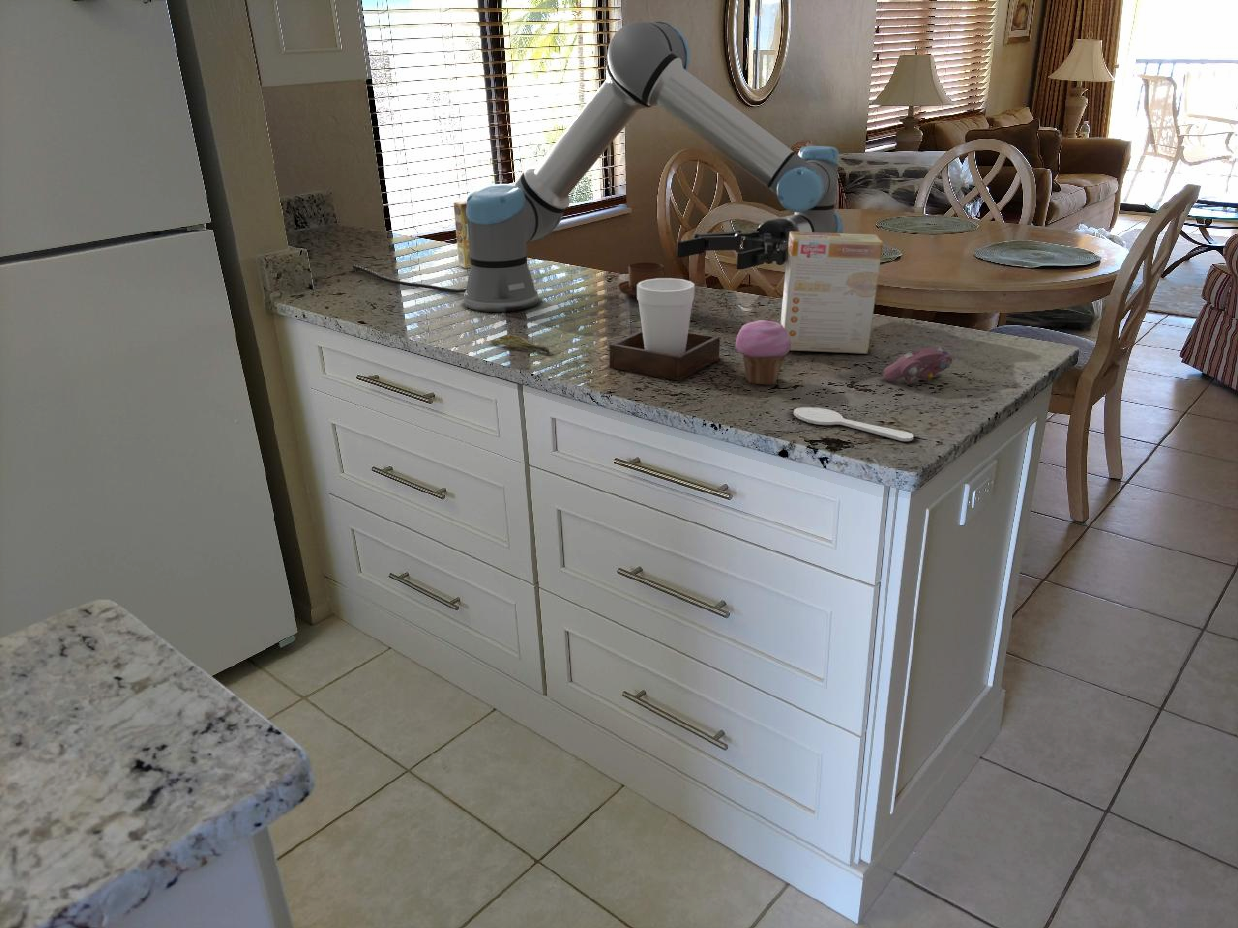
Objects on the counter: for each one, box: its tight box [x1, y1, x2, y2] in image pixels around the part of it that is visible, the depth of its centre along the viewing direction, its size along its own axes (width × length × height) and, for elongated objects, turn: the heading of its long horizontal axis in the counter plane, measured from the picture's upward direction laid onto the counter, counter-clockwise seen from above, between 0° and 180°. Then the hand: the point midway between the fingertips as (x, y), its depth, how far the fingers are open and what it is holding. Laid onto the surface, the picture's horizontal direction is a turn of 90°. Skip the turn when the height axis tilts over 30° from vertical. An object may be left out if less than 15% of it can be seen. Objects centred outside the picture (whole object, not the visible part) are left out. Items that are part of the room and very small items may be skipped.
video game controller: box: [882, 346, 953, 385], centre depth 152 cm, size 10×5×7 cm, turn 114°
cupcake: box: [734, 319, 791, 386], centre depth 152 cm, size 9×9×10 cm
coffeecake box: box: [779, 231, 884, 355], centre depth 165 cm, size 15×7×20 cm, turn 87°
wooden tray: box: [608, 329, 721, 382], centre depth 162 cm, size 14×14×4 cm
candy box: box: [453, 200, 471, 269], centre depth 232 cm, size 9×4×15 cm, turn 125°
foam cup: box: [636, 277, 696, 356], centre depth 160 cm, size 10×9×13 cm
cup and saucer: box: [617, 261, 667, 298], centre depth 205 cm, size 12×12×6 cm
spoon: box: [793, 406, 914, 442], centre depth 136 cm, size 5×18×1 cm, turn 52°
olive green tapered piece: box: [490, 334, 551, 356], centre depth 172 cm, size 4×13×2 cm, turn 56°
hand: (707, 255), depth 166 cm, fingers open, 13 cm apart
